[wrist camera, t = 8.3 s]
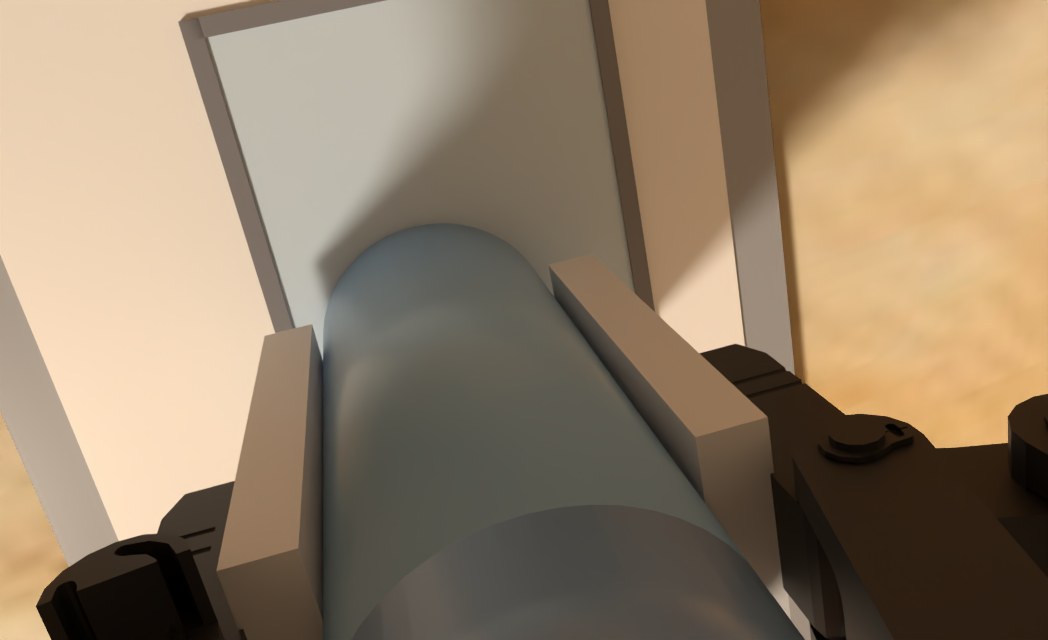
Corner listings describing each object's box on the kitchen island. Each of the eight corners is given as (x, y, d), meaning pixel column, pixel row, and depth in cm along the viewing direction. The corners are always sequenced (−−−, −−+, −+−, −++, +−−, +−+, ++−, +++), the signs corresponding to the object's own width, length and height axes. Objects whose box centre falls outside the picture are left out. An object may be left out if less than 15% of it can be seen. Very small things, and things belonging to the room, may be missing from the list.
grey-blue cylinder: (296, 252, 15) (222, 996, 4) (531, 200, 16) (1040, 734, 5) (354, 461, 17) (415, 1422, 6) (567, 407, 17) (1014, 1190, 6)
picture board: (-208, -108, 13) (-244, -116, 12) (717, -273, 15) (740, -289, 14) (274, 1000, 22) (272, 1038, 21) (826, 815, 23) (843, 844, 22)
